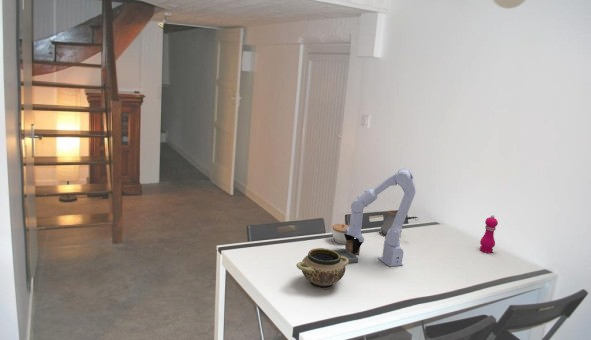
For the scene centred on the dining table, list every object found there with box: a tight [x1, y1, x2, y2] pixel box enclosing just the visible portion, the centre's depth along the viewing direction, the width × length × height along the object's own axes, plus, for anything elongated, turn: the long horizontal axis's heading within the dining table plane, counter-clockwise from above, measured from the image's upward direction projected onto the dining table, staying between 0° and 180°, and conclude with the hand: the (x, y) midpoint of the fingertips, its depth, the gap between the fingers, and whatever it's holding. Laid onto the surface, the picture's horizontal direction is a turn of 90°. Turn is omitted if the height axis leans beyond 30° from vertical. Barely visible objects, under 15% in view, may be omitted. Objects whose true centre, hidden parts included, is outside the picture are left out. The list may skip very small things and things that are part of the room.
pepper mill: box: [479, 214, 498, 254], centre depth 238 cm, size 7×7×20 cm
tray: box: [332, 248, 359, 265], centre depth 212 cm, size 11×11×2 cm
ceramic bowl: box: [296, 247, 349, 290], centre depth 183 cm, size 24×18×15 cm
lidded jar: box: [331, 223, 349, 245], centre depth 233 cm, size 11×11×9 cm
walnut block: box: [344, 240, 361, 256], centre depth 219 cm, size 5×5×6 cm
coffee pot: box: [380, 210, 419, 236], centre depth 247 cm, size 21×12×15 cm, turn 39°
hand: (352, 250), depth 219 cm, fingers open, 5 cm apart
